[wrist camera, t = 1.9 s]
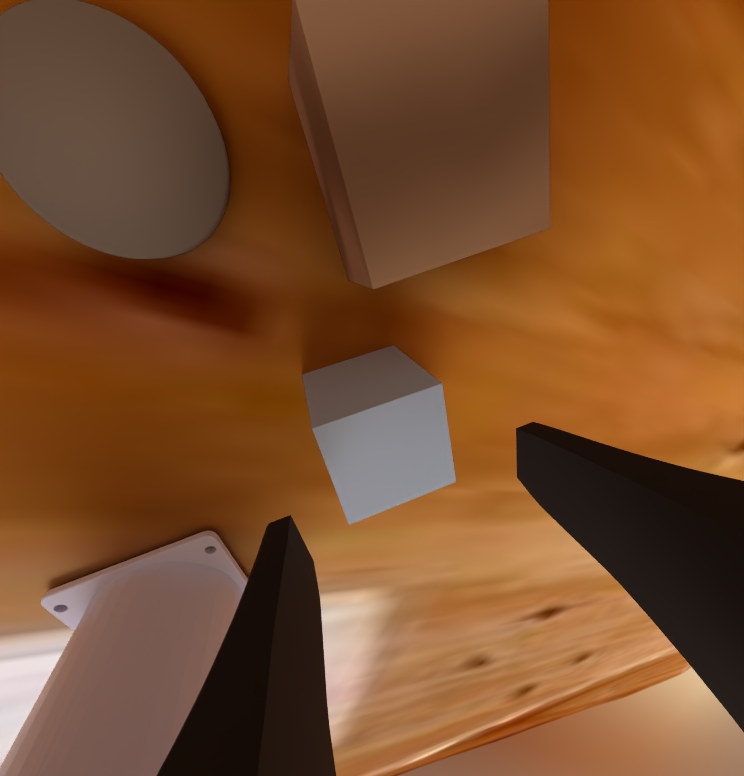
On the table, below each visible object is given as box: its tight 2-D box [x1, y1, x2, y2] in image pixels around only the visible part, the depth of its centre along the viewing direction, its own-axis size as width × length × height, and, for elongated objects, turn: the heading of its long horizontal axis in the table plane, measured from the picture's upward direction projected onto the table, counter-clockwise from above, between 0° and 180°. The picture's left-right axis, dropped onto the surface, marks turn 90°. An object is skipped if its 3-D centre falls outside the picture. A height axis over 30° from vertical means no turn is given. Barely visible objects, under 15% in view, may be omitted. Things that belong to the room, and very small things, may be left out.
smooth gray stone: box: [0, 0, 231, 259], centre depth 9 cm, size 6×6×1 cm
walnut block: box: [288, 0, 550, 289], centre depth 10 cm, size 6×6×4 cm
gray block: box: [302, 345, 456, 525], centre depth 13 cm, size 4×4×5 cm
